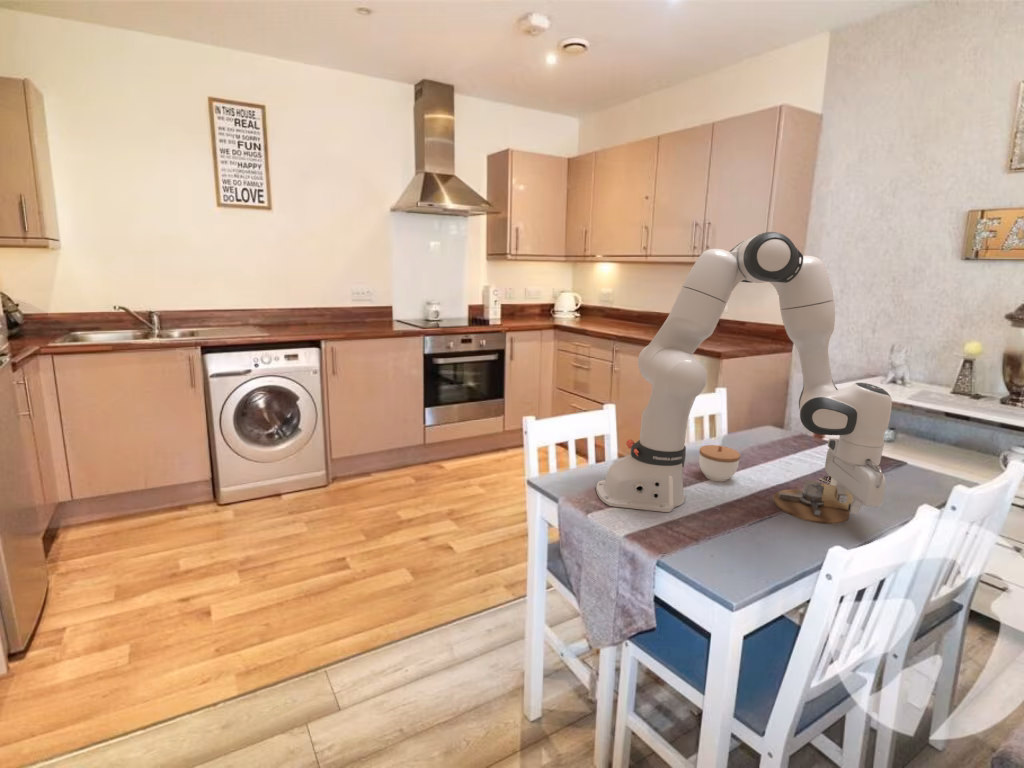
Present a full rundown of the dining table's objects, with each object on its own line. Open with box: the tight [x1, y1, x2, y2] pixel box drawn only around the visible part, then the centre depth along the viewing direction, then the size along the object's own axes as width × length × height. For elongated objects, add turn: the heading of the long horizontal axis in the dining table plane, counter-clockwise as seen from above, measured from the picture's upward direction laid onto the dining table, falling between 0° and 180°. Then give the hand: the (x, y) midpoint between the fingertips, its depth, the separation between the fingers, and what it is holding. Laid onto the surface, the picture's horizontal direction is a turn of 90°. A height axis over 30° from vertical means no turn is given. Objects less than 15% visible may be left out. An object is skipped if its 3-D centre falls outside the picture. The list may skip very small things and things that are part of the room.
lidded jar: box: [698, 444, 741, 483], centre depth 154 cm, size 11×11×9 cm
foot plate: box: [772, 488, 851, 525], centre depth 139 cm, size 17×17×1 cm
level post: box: [829, 477, 836, 486], centre depth 145 cm, size 3×4×12 cm
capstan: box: [779, 479, 853, 516], centre depth 137 cm, size 15×16×7 cm
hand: (846, 506), depth 131 cm, fingers open, 4 cm apart
